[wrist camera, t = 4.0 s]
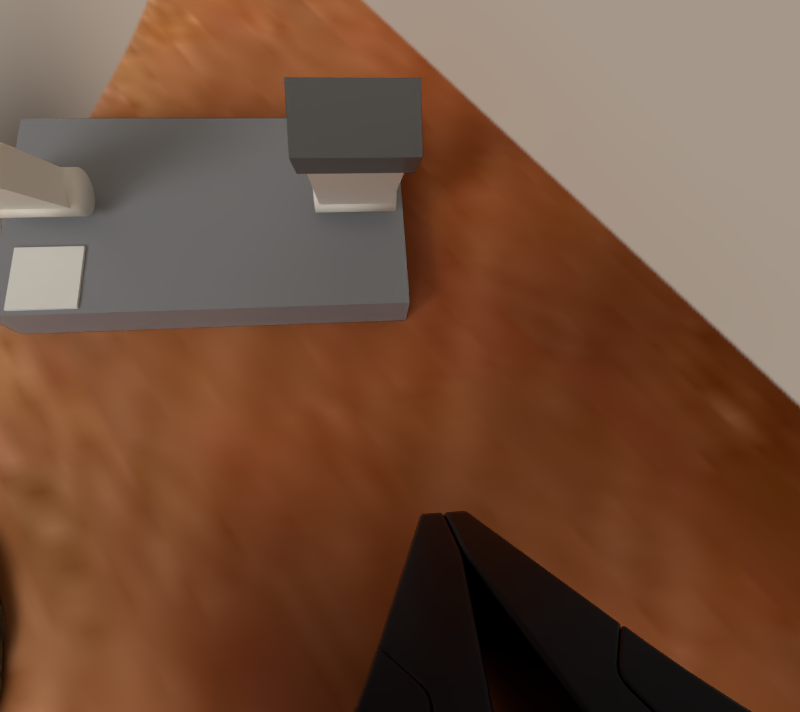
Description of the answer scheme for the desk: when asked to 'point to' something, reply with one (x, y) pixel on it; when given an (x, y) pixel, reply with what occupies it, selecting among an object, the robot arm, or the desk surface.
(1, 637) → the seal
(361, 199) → the right lever
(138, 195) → the switch base
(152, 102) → the desk surface
